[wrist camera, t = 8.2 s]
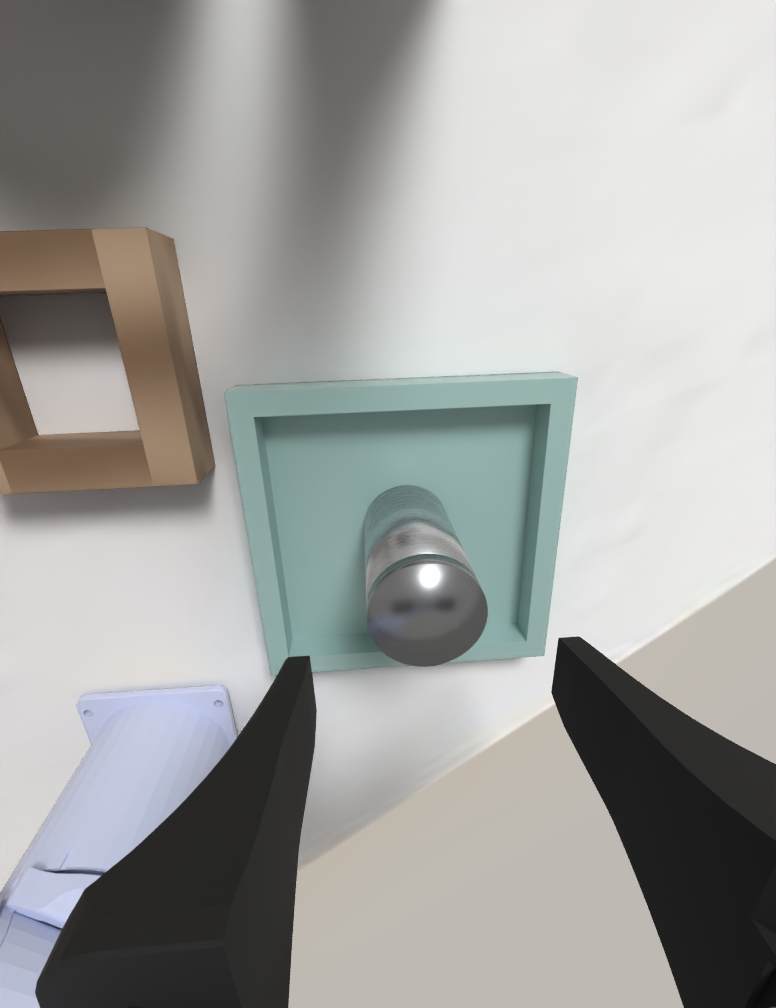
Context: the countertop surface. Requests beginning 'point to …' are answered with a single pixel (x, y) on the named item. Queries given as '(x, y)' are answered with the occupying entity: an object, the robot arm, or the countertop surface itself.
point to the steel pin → (419, 580)
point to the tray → (389, 463)
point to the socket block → (146, 355)
